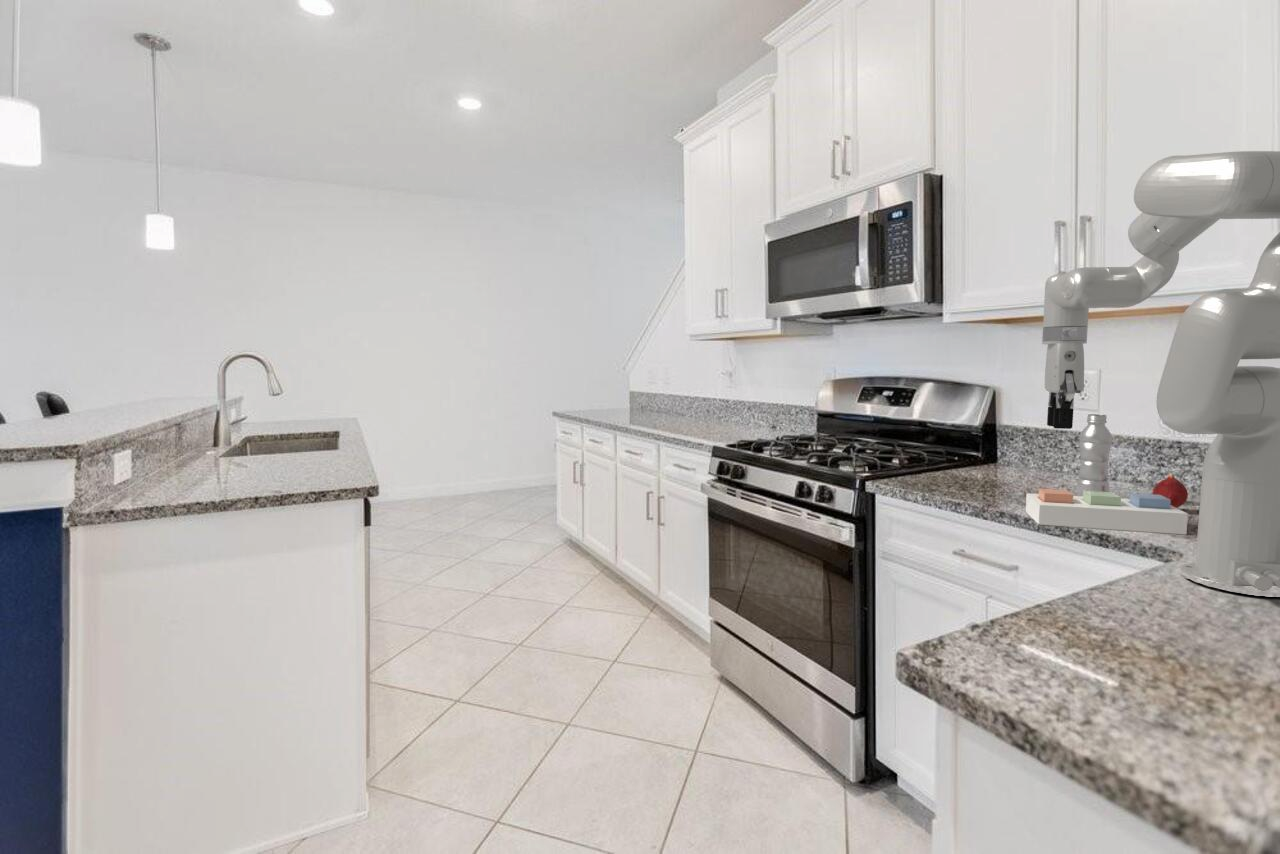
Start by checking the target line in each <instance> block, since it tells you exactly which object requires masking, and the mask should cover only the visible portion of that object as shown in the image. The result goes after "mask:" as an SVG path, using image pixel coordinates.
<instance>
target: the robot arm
mask: <svg viewBox="0 0 1280 854" xmlns="http://www.w3.org/2000/svg"><path fill="white" fill-rule="evenodd" d="M1139 177H1140V178H1139V179H1138V180H1137V182H1136V185H1135V188H1134V190H1133V191H1134V192H1133V202H1134V205H1135V206H1136V208H1137V209H1138V210H1139V211H1140V212H1142V213H1140V214H1139V215H1138V216H1136V217H1135V218H1134V220H1132V222H1131V223H1130V224H1129V227H1128V230H1127V237H1128V240H1129V242H1130V244H1131V246H1132V247H1133V248H1134V249H1135V250H1136V251H1137V252H1138V253H1139V254H1140V255H1142V257H1141V258H1139V260H1137V261H1136V262H1134V263H1133V264H1132V265H1130V266H1096V267H1095V266H1090V267H1088V266H1087V267H1086V266H1085V267H1084V266H1083V267H1078V268H1075V269H1072V270H1069V271H1068V272H1065V273H1059V274H1058V273H1057V274H1054V275H1050V276H1049V277H1048V278H1047V279H1046V281H1045V283H1044V284H1045V285H1044V300H1043V301H1044V303H1043V320H1042V321H1043V322H1042V323H1043V324H1042V337H1041V338H1042V340H1041V341H1042V342H1041V344H1042V345H1047V350H1046V354H1045V357H1046V358H1045V368H1044V389H1045V391H1047V393H1048V392H1049V395H1048V402H1047V403H1048V405H1047V419H1046V420H1047V421H1046V425H1047V426H1048V427H1053V429H1066V430H1069V429H1072V428H1073V422H1074V404H1075V403H1074V402H1075V401H1074V400H1075V399H1074V398H1075V394H1081V393H1083V391H1084V389H1085V352H1084V351H1085V349H1084V344H1088V328H1089V327H1088V326H1089V311H1090V309H1099V308H1100V309H1103V308H1104V309H1105V308H1107V309H1108V308H1109V309H1110V308H1111V309H1114V308H1115V309H1120V308H1129V307H1133V306H1136V305H1138V304H1141V303H1142V302H1145V300H1147V299H1149V298H1150V297H1152V295H1154V294H1155V293H1157V292H1158V291H1160V290H1161V289H1162V288H1163V287H1164V286H1166V285H1168V283H1169V282H1170V280H1171V279H1172V278H1173V276H1174V274H1175V271H1176V270H1177V267H1178V265H1179V260H1180V251H1182V250H1183V249H1184V248H1185V247H1186V246H1188V245H1189V244H1190V243H1192V241H1194V240H1195V239H1196V238H1198V237H1199V236H1200V235H1202V234H1203V233H1204V232H1205V231H1206V230H1208V229H1209V228H1210V227H1212V226H1213V225H1214V224H1216V223H1217V222H1218V221H1220V220H1236V219H1237V220H1247V219H1248V220H1267V219H1280V150H1277V151H1275V150H1267V151H1266V150H1262V151H1261V150H1260V151H1259V150H1257V151H1256V150H1250V151H1249V150H1248V151H1247V150H1245V151H1244V150H1243V151H1241V150H1239V151H1225V152H1213V153H1201V154H1191V155H1190V154H1189V155H1188V154H1187V155H1171V156H1170V155H1169V156H1167V157H1164V158H1162V159H1160V160H1158V161H1156V162H1155V163H1153V164H1152V165H1150V166H1149V167H1148V168H1147V169H1146V170H1145V171H1144V172H1143V173H1142V174H1141V175H1140V176H1139ZM1174 331H1175V332H1174V334H1173V337H1172V341H1171V344H1170V347H1169V348H1170V349H1169V350H1168V355H1167V358H1166V361H1165V365H1164V367H1163V371H1162V374H1161V378H1160V381H1159V383H1158V384H1159V385H1158V388H1157V392H1156V410H1157V414H1158V416H1159V418H1160V420H1161V422H1162V423H1163V424H1164V425H1165V426H1166V427H1167V428H1169V429H1170V430H1173V431H1174V432H1177V433H1182V434H1188V435H1189V434H1190V435H1191V434H1192V435H1216V436H1215V438H1214V439H1213V441H1211V444H1210V445H1209V447H1208V449H1207V451H1206V454H1205V456H1204V459H1203V464H1202V465H1203V466H1202V475H1201V483H1200V487H1201V488H1200V496H1199V497H1200V498H1199V512H1198V525H1197V535H1196V536H1197V537H1196V550H1195V561H1194V562H1191V563H1190V562H1189V563H1186V564H1184V565H1182V566H1181V569H1180V572H1181V571H1182V572H1183V573H1185V574H1187V575H1189V576H1192V577H1195V578H1198V579H1201V580H1205V581H1211V582H1216V583H1220V584H1226V585H1231V586H1253V587H1255V588H1257V589H1258V590H1261V591H1266V590H1269V589H1270V588H1271V587H1272V586H1277V587H1279V588H1280V367H1275V366H1267V365H1266V366H1264V365H1263V366H1262V365H1239V363H1240V360H1277V359H1280V231H1279V232H1278V233H1277V234H1276V235H1275V236H1273V238H1272V239H1271V241H1270V242H1269V243H1268V244H1267V246H1266V247H1265V248H1264V250H1263V252H1262V253H1261V255H1260V257H1259V259H1258V263H1257V267H1256V271H1255V272H1254V275H1253V278H1252V280H1251V282H1250V284H1249V286H1248V287H1247V288H1223V289H1217V290H1213V291H1210V292H1207V293H1205V294H1203V295H1201V296H1199V297H1198V298H1196V299H1195V300H1194V301H1193V302H1191V304H1190V305H1189V306H1188V307H1187V308H1186V309H1185V311H1184V312H1183V313H1182V315H1181V317H1179V321H1178V323H1177V326H1176V328H1175V330H1174ZM1238 365H1239V366H1238ZM1205 578H1206V579H1205Z"/></svg>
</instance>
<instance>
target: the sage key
mask: <svg viewBox="0 0 1280 854" xmlns="http://www.w3.org/2000/svg"><path fill="white" fill-rule="evenodd" d="M1121 498H1122V497H1121V496H1119V495H1118V494H1116V493H1115V492H1111V491H1109V492H1095V491H1083V501H1084V502H1086V503H1087V504H1089V505H1103V506H1120V505H1121Z"/></svg>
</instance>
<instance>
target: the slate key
mask: <svg viewBox="0 0 1280 854" xmlns="http://www.w3.org/2000/svg"><path fill="white" fill-rule="evenodd" d="M1129 499H1130V500H1129V503H1130V504H1132V505H1134V506H1136V507H1138V508H1155V509H1170V504H1171V500H1170V499H1168V498H1166V497H1164V496H1162V495H1154V494H1153V493H1151V494H1150V493H1131V492H1130V493H1129Z"/></svg>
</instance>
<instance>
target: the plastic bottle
mask: <svg viewBox="0 0 1280 854" xmlns="http://www.w3.org/2000/svg"><path fill="white" fill-rule="evenodd" d="M1107 418H1108V417H1107V414H1099V413H1098V414H1095V413H1094V414H1093V413H1092V414H1089V413H1087V419H1086V423H1087V424H1086V426H1085V427H1084V428H1083V429H1082V431H1081V432H1080V433H1079V436H1078V441H1079V443H1078V444H1079V450H1080V451H1079V453H1080V467H1079V474H1078V478H1077V481H1076V485H1075V491H1076V495H1077V496H1083V491H1095V492H1111V490H1110V482H1109V468H1108V466H1109V459H1110V453H1111V447H1112V442H1113V436H1112V435H1113V434H1111V432H1110V430H1109V429H1108V427H1107V426H1106V424H1107Z"/></svg>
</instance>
